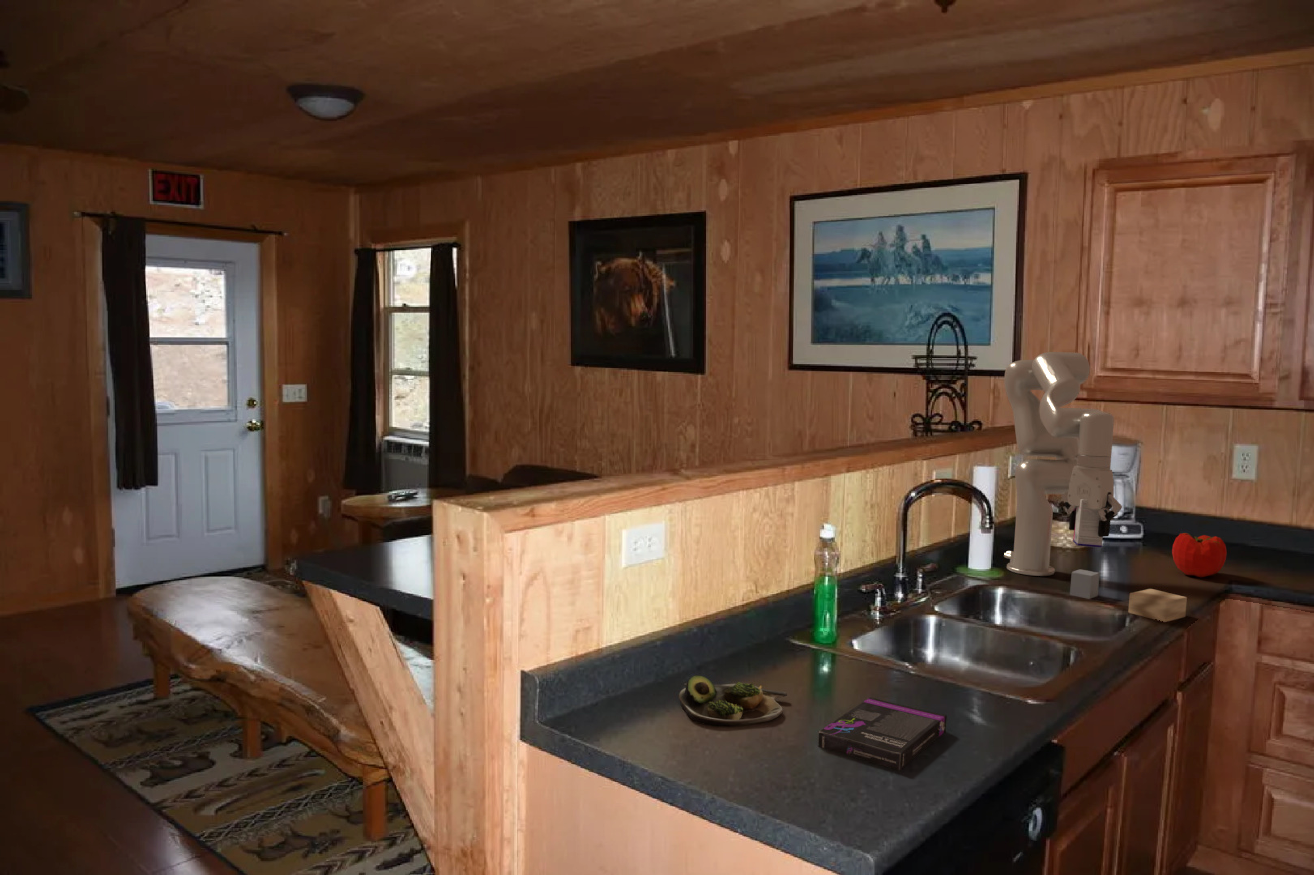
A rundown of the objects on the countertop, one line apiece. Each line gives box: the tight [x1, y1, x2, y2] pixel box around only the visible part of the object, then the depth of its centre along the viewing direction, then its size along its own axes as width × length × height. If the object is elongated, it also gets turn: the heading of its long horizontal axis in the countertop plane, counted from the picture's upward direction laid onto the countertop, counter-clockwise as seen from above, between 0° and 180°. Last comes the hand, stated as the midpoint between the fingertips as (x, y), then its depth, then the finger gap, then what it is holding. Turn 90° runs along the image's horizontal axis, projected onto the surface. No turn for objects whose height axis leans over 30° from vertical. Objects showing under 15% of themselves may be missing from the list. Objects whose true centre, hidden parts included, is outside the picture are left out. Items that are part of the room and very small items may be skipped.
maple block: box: [1127, 588, 1188, 623], centre depth 239 cm, size 9×9×5 cm
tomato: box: [1171, 532, 1228, 578], centre depth 281 cm, size 13×14×12 cm
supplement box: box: [1072, 499, 1106, 548], centre depth 245 cm, size 6×6×12 cm
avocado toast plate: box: [678, 674, 788, 727], centre depth 174 cm, size 19×18×5 cm
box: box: [817, 697, 948, 771], centre depth 162 cm, size 14×4×20 cm
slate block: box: [1069, 568, 1100, 600], centre depth 255 cm, size 5×5×6 cm
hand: (1088, 532), depth 246 cm, fingers closed on supplement box, 7 cm apart
